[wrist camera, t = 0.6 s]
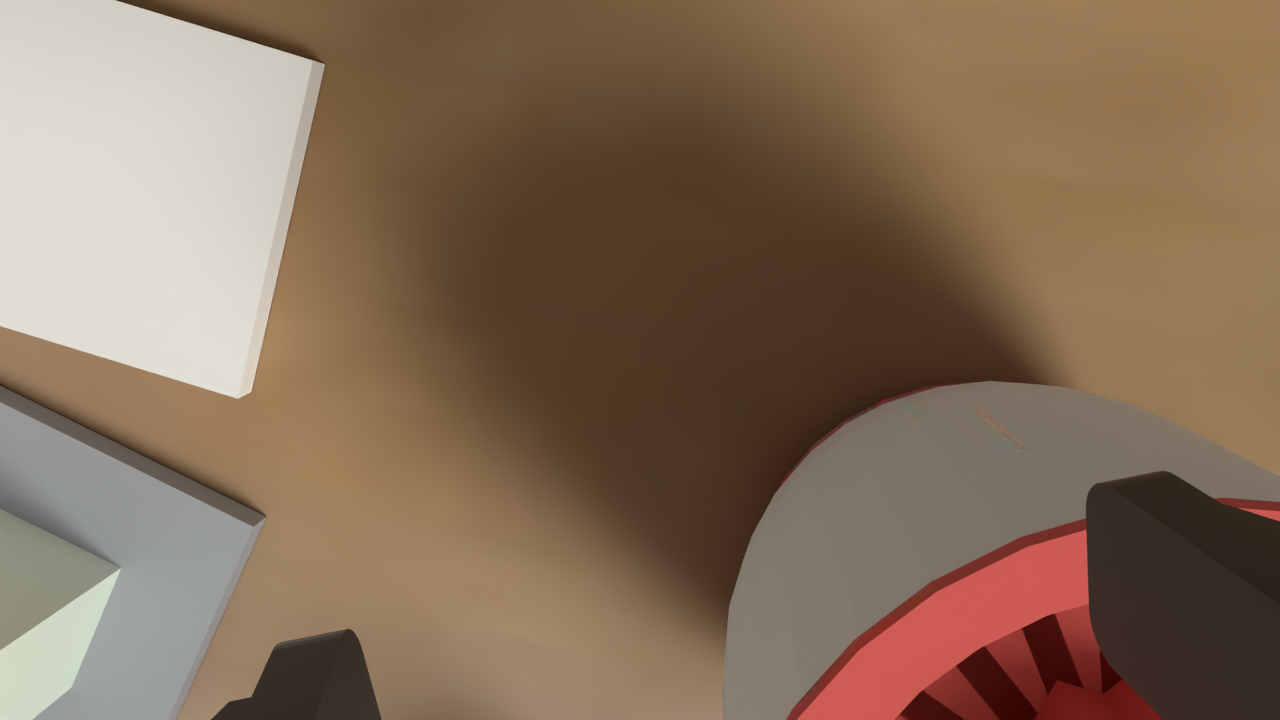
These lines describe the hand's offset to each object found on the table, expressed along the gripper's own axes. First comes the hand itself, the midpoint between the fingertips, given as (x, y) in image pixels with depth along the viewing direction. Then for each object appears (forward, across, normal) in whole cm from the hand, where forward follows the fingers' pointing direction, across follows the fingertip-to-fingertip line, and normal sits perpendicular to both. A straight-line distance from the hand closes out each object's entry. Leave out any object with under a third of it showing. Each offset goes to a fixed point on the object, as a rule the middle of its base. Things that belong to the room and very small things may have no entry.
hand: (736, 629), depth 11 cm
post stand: (+24, +21, +8) cm, 33 cm away
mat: (+25, +15, -5) cm, 29 cm away
